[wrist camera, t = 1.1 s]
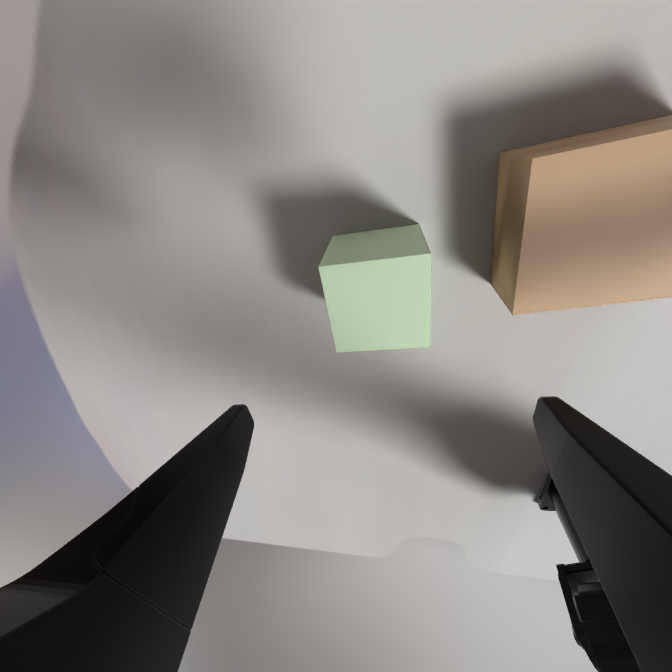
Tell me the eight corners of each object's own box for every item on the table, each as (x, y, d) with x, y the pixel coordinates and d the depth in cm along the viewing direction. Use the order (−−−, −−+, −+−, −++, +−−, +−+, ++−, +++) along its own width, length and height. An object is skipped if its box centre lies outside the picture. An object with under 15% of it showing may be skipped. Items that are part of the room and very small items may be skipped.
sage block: (420, 301, 20) (430, 346, 16) (345, 308, 21) (336, 352, 17) (419, 223, 17) (430, 253, 13) (332, 235, 18) (318, 266, 14)
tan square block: (622, 263, 17) (679, 296, 14) (489, 281, 18) (512, 314, 15) (670, 114, 13) (765, 109, 10) (498, 152, 15) (532, 158, 11)
